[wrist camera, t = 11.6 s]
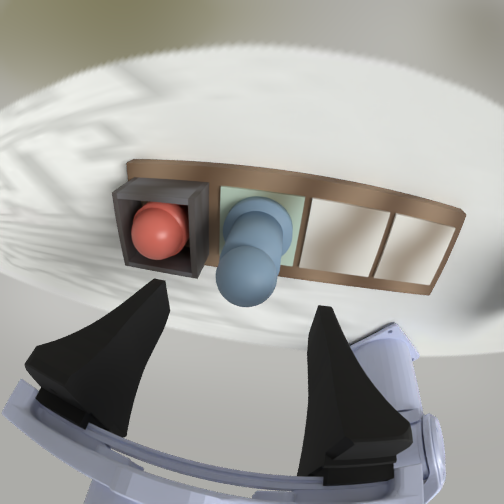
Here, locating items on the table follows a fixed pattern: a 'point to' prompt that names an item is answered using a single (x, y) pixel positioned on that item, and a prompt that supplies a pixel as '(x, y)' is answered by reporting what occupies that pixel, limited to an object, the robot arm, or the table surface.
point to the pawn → (253, 250)
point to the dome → (160, 229)
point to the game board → (297, 223)
